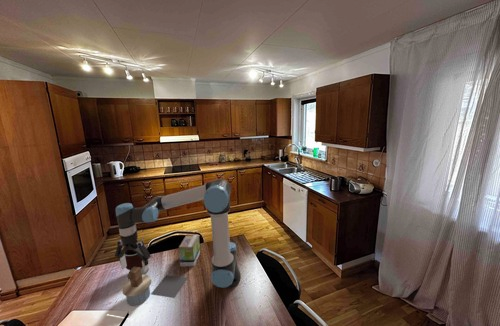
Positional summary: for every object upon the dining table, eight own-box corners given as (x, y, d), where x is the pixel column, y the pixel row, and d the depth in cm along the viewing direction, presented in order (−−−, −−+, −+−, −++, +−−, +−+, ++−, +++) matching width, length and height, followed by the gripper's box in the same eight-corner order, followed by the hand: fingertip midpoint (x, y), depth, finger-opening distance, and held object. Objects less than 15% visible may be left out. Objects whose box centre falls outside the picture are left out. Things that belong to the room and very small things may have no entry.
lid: (156, 277, 116) (154, 262, 115) (139, 298, 103) (136, 280, 101) (135, 274, 119) (133, 259, 117) (115, 294, 106) (112, 277, 104)
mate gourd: (139, 282, 124) (135, 253, 120) (120, 279, 127) (115, 250, 123) (156, 265, 139) (152, 238, 135) (138, 263, 142) (134, 237, 138)
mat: (188, 278, 126) (188, 277, 126) (174, 298, 111) (174, 297, 111) (166, 275, 129) (166, 274, 129) (150, 294, 115) (150, 294, 114)
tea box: (194, 266, 136) (193, 247, 133) (180, 267, 136) (177, 247, 134) (200, 252, 151) (198, 234, 148) (187, 253, 151) (185, 235, 148)
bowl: (154, 291, 117) (152, 279, 115) (140, 308, 106) (138, 295, 105) (137, 288, 119) (135, 277, 118) (122, 305, 109) (120, 292, 107)
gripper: (154, 230, 106) (159, 266, 110) (114, 228, 111) (121, 262, 115) (144, 238, 99) (150, 276, 103) (102, 235, 104) (109, 271, 108)
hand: (135, 269), depth 109 cm, fingers open, 13 cm apart
